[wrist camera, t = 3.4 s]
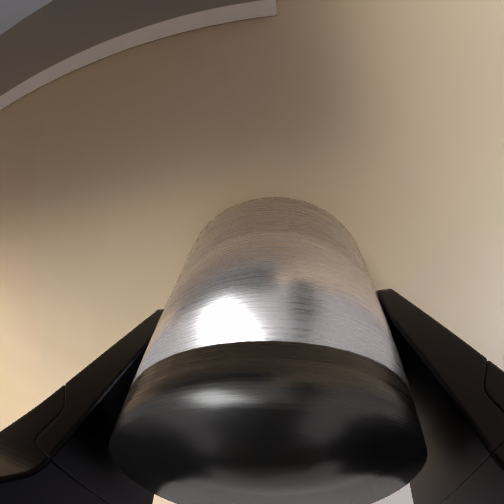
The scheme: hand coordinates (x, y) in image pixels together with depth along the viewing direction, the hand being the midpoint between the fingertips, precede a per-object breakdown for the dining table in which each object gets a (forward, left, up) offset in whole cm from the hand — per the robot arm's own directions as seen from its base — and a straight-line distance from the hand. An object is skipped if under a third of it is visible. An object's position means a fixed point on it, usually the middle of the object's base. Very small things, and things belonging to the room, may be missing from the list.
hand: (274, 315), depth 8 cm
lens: (0, 0, -2) cm, 2 cm away
